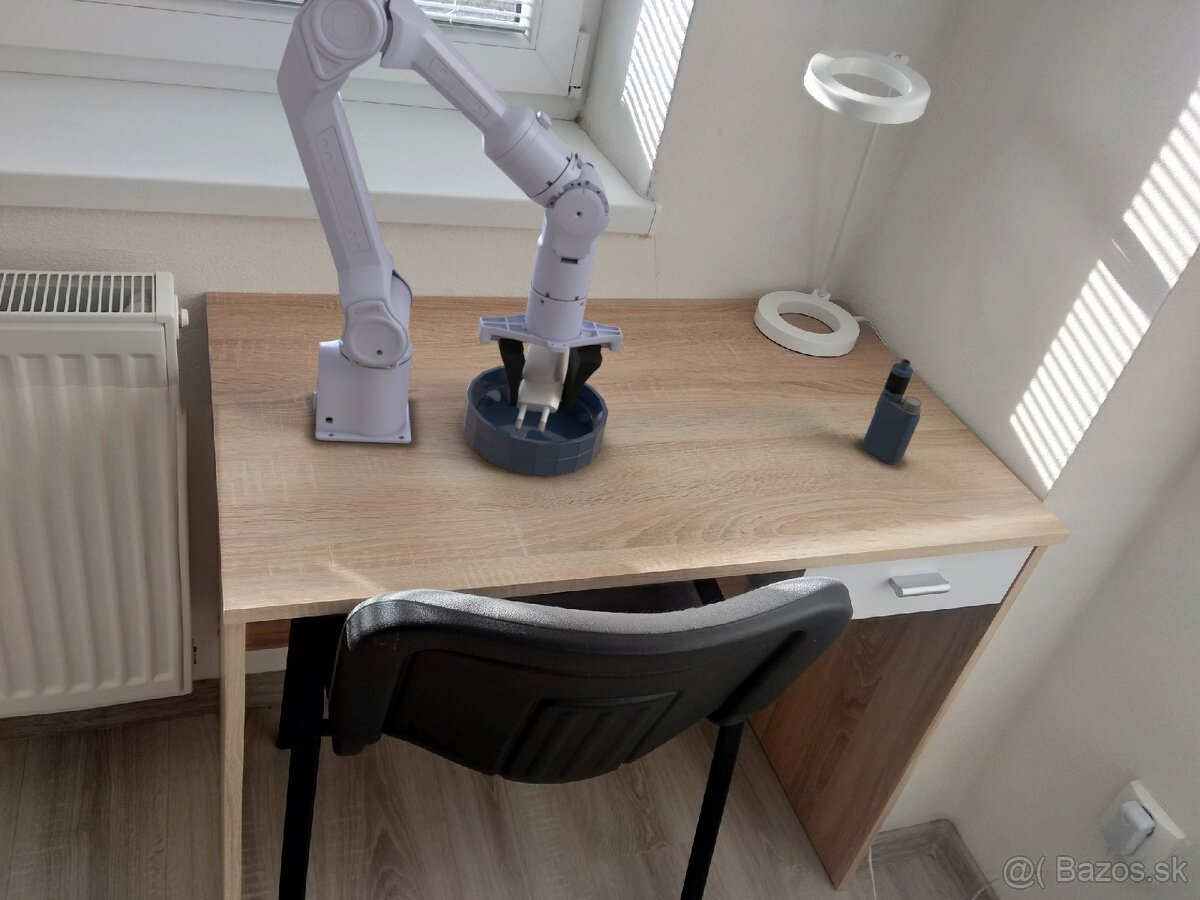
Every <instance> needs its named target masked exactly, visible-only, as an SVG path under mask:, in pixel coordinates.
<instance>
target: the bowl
mask: <svg viewBox="0 0 1200 900" xmlns="http://www.w3.org/2000/svg"><path fill="white" fill-rule="evenodd" d="M522 380H523V376H522V375H521V379H520V384H521V381H522ZM520 384H519V387H520ZM507 393H508V386H507V375H506V369H505V366H504V365H498V366H495V367H491V368H489V369H487V370H484V371H482V372H480V373H479V374H478V375H476V376H475V377H474V378H473V379H471V381H470V383H469V385H468V387H467V389H466V391H465V398H464V404H463V405H464V406H463V412H462V420H461V426H462V433H463V437H464V439H465V440H466V441H467V443H468V444H469V445H470V447H471V449H473V450H474V451H475V452H476V453H478V454H479V455H481V456H482V457H483V458H484V459H486V460H487V461H489V462H490V463H493V464H495V465H497V466H499V467H502V468H504V469H506V470H510V471H513V472H518V473H522V474H526V475H527V474H528V475H533V476H559V475H565V474H569V473H574V472H577V471H578V470H582V469H583V468H585V467H587V466H590V464H591V463H592V462H593V461H594V460H595V459H596V458H597V457H598V456H599V454H600V451H601V448H602V444H603V438H604V434H605V431H606V426H607V422H608V416H609V409H608V407H607V403H606V401H605V399H604V397H603V396H602V395H601V394H600V393H599V392H598V391H597V390H596V388H595V387H593V386H592V385H590V384H589V383H587V381H586V382H585V383H584V385H583V386H582V388H581V389H580V391H579V393H578V394H577V396H576V398H575V400H574V402H573V404H572V406H571V409H564V406H563V403H562V402H559V406H558V409H557V411H556V412H555V413H549V415H548V418H547V421H546V426H545V429H544V432H543V433H538V431H537V429H538V426H539V422H540V420H541V417H542V412H536V411H527V410H526V413H525V416H524V419H523V423H522V427H521V430H519V431H517V430H515V428H514V427H515V423H516V420H517V418H518V414H519V410H520V409H519V408H517V407H514V406H509V402H508V397H507Z"/></svg>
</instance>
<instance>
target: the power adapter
mask: <svg viewBox="0 0 1200 900" xmlns="http://www.w3.org/2000/svg"><path fill="white" fill-rule="evenodd" d="M569 351H570V348H568V350H567V352H566V353H557V352H549V351H548V350H547V348H546V347H544V346H539V345H535V344H531V343H528V347H527V351H526V354H525V360H526V362H525V365H524V368H523V371H522V376H523V380H522V381H521V384H520V387H519V394H518V401H517V405H516V407H517V408H519V409H520V410H519V414H518V418H517V420H516V423H515V427H514V428H515V430H517V431H519V430H521V427H522V423H523V419H524V416H525V413H526V410H527V411H536V412H542V417H541V420H540V422H539V426H538V429H537V431H538V433H543V432H544V429H545V426H546V421H547V418H548V415H549V413H555V412H556V411H557V409H558V406H559V402H562V399H561V396H562V391H563V387H564V386H563V384H564V380H565V376H566V372H567V367H568V360H569Z"/></svg>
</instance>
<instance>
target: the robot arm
mask: <svg viewBox="0 0 1200 900" xmlns="http://www.w3.org/2000/svg"><path fill="white" fill-rule="evenodd" d="M378 53H381V57H380V62H379V66H378V67H379V68H382V69H388V70H389V69H390V70H391V69H392V70H407V71H408V70H409V71H414V72H416V73H417V74H418V75H419V76H421V78H423V79H424V80H425V81H426V82H427V83H428V84H429V85H430V86H431V87H432V88H434V89H435V91H436V92H437V93H438V94H440V95H441V96H442V97H443V98H444V99H445V100H447V101H448V102H449V103H450V104H451V105H452V106H453V107H454V108H455V109H456V110H458V111H459V113H461V114H462V115H463V116H464V117H465V118H466V119H467V120H469V121H470V123H472V124H473V125H474V126H475V127H476V128H477V129H478V130H479V131H481V133H482V142H481V143H482V145H481V146H482V153H483V154H484V155H485V156H486V157H487V158H488V159H489V160H490V162H492V163H493V164H494V165H495V166H496V167H497V168H498V169H499V170H500V171H501V172H502V173H503V174H504V175H505V176H506V177H507V178H508V179H509V180H510V181H512V182H513V184H514V185H515V186H516V187H518V189H519V190H520V191H521V192H522V193H524V195H525V196H526V197H528V199H530V201H532V202H534V203H536V204H538V205H540V206H541V207H543V208H544V209H545V212H544V213H543V220H542V225H541V232H540V235H539V237H538V240H537V244H536V248H535V249H536V250H535V256H534V262H533V270H532V273H531V280H530V286H529V291H528V298H527V302H526V303H527V304H526V309H525V313H519V314H510V315H502V316H490V317H489V316H488V317H487V316H480V317H479V321H478V327H477V337H478V342H479V344H484V345H485V344H487V345H488V344H491V342H497V345H498V351H499V353H500V358H501V361H502V363H503V366H505V369H506V375H507V386H508V393H507V397H508V402H509V406H514V407H516V405H517V401H518V394H519V384H520V379H521V375H522V371H523V368H524V365H525V362H526V360H525V357H526V355H525V353H524V352H525V347H524V344H530V343H531V344H535V345H539V346H544V347H546V348H547V350H548V351H549V352H557V353H566V352H567V350H568V348H570V351H569V360H568V367H567V372H566V376H565V380H564V384H563V386H564V387H563V391H562V396H561V399H562V403H563V406H564V409H571V406H572V404H573V402H574V400H575V398H576V396H577V394H578V393H579V391H580V389H581V388H582V386H583V385H584V383H585V382H586V383H587V381H588V380H589V379H590V378H591V376H592V375H594V373H595V372H597V371H598V370H599V369H600V368H601V366H602V363H603V358H604V357H603V355H602V349H608V350H609V352H612V353H620V352H621V348H622V343H623V340H624V334H623V332H622V330H621V328H620V326H615V325H609V324H603V323H599V322H596V321H595V322H594V321H590V320H586V319H584V316H585V311H586V306H587V300H588V297H589V291H590V286H591V281H592V276H593V271H594V265H595V262H596V257H597V244H598V241H599V238H600V236H601V235H602V234H603V233H604V232H605V230H606V229H607V228H608V226H609V224H610V221H611V216H610V215H609V212H610V205H609V201H608V197H607V194H606V190H605V187H604V182H603V180H602V178H601V176H600V174H599V173H598V171H597V169H595V166H594V163H593V162H591V161H590V160H587V159H586V157H585V156H584V155H583V154H582V153H581V152H580V151H577V152H576V153H574V152H573V151H572V150H571V149H570V148H569V147H568V146H567V145H566V143H564V142H563V141H562V140H561V139H560V137H558V135H557V134H556V133H555V131H553V130H552V129H551V127H552V120H551V117H549V115H547V114H546V113H545V111H544V110H542V109H540V110H539V111H538V112H537V113H536V112H535V111H534V110H533V109H532V108H531V107H530V106H529V105H527V104H518V103H516V104H515V103H507V102H505V101H504V99H503V98H502V97H501V96H500V95H499V94H498V92H496V91H495V89H494V88H493V87H492V86H491V84H489V82H487V80H485V78H484V77H483V76H482V75H481V74H480V72H479V71H478V70H477V69H476V68H475V67H474V66H473V65H472V64H471V62H470V61H469V60H468V59H467V58H466V57H465V56H464V55H463V53H462V52H461V51H460V50H459V49H458V48H457V47H456V46H455V44H454V43H453V42H452V41H451V40H450V39H449V38H448V37H447V36H446V35H445V34H444V32H443V31H442V30H441V29H440V28H439V27H438V26H437V24H436V23H435V22H434V21H433V20H432V18H430V17H429V16H428V15H427V14H426V13H425V11H424V10H423V9H422V8H421V7H420V6H419V4H417V3H416V2H415V1H414V0H303V1H302V3H301V6H300V7H299V10H298V11H297V13H296V14H295V16H294V18H293V21H292V26H291V30H290V33H289V37H288V41H287V43H286V46H285V50H284V53H283V56H282V58H281V59H282V60H281V61H280V66H279V68H278V72H277V75H276V79H275V80H276V88H277V92H278V95H279V99H280V102H281V105H282V107H283V110H284V114H285V118H286V120H287V122H288V126H289V129H290V132H291V136H292V138H293V141H294V145H295V147H296V150H297V153H298V156H299V159H300V162H301V166H302V168H303V172H304V174H305V178H306V181H307V184H308V186H309V190H310V193H311V196H312V199H313V202H314V205H315V208H316V211H317V214H318V218H319V221H320V224H321V227H322V230H323V232H324V235H325V238H326V241H327V245H328V248H329V251H330V254H331V257H332V260H333V263H334V267H335V269H336V272H337V273H336V274H337V283H338V291H339V292H338V294H339V303H340V308H341V310H342V314H343V320H344V321H343V326H342V331H341V334H340V338H339V339H335V340H329V341H321V342H320V341H319V342H318V359H317V383H316V391H313V395H312V396H313V397H312V410H315V435H314V437H315V439H317V440H318V441H331V442H334V441H335V442H356V443H357V442H359V443H360V442H361V443H383V444H385V443H386V444H410V443H412V432H411V431H412V430H411V420H410V408H409V390H410V381H411V370H412V363H413V362H412V361H413V352H414V345H413V342H412V340H411V339H410V337H411V336H410V321H411V319H410V318H411V309H412V306H413V302H414V301H413V300H414V295H413V290H412V287H411V285H410V284H409V282H408V281H407V279H406V278H405V277H404V276H403V275H402V274H400V272H399V271H398V269H397V268H396V265H395V262H394V258H393V256H392V254H391V253H390V252H389V251H388V250H387V248H386V246H385V243H384V239H383V236H382V232H381V230H380V226H379V221H378V219H377V215H376V212H375V208H374V205H373V202H372V199H371V198H372V197H371V196H370V192H369V189H368V185H367V182H366V179H365V174H364V171H363V168H362V165H361V160H360V158H359V155H358V151H357V147H356V144H355V141H354V137H353V134H352V131H351V127H350V123H349V121H348V120H349V119H348V117H347V114H346V111H345V107H344V103H343V100H342V96H341V93H340V90H341V89H342V87H343V86H344V85H345V83H346V81H347V80H348V78H349V77H350V75H351V73H352V72H354V71H355V70H356V69H358V68H360V67H361V66H363V65H364V64H365V63H367V62H369V61H370V60H371V59H372V58H374V57H375V56H376V55H377V54H378Z"/></svg>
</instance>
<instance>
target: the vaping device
mask: <svg viewBox="0 0 1200 900" xmlns="http://www.w3.org/2000/svg"><path fill="white" fill-rule="evenodd" d="M913 374H914V369H913V368H912V367H911V361H910V360H909V359H906V358H902V359H901V360H900V362H896V363H893V364H892V367H891V369H890V372H889V374H888V377H887V379H886V381H885V384H884V386H883V389H882V392H881V393H880V395H879V397H878V400H877V401H876V405H875V407H874V413H873V415H872V418H871V420H870V423H869V426H868V428H867V431H866V433H865V435H864V437H863V440H862V442H861V445H860V446H861V448H862V449H864V450H865V451H867V452H868V453H870V454H871V455H873V456H874V457H876V458H878V459H879V460H881V461H883V462H885V463H886V464H888V465H897V464H898V463H899V462H900V461H901V460H902V459H903V458H904V456H905V454H906V451H907V449H908V447H909V445H910V443H911V440H912V438H913V435H914V433H915V431H916V428H917V426H918V424H919V422H920V419H921V412H922V409H921V407H922V404H923V403H922V400H920V399H919V398H917V397H916V396H910V395H907V396H905V397H904V395H905V393H906V390H907V389H908V385H909V383H910V381H911V378H912V377H913ZM903 397H904V398H903Z"/></svg>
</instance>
